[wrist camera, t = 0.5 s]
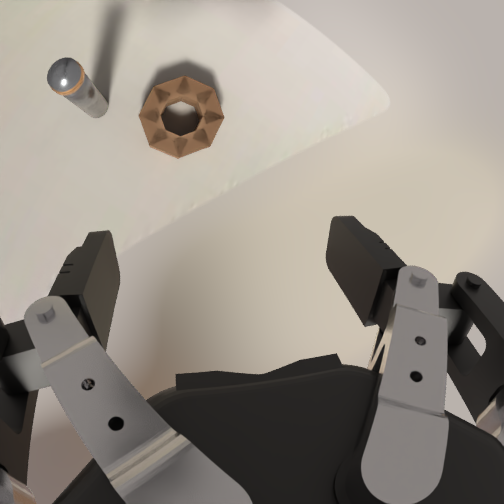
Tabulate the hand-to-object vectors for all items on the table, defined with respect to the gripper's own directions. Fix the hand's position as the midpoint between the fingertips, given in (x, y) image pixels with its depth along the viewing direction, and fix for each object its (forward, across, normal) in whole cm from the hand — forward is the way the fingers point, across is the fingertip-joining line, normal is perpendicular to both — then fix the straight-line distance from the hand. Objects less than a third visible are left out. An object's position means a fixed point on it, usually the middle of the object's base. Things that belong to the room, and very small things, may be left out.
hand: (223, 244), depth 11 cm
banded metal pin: (+26, +11, -3) cm, 28 cm away
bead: (+26, +2, -1) cm, 26 cm away
